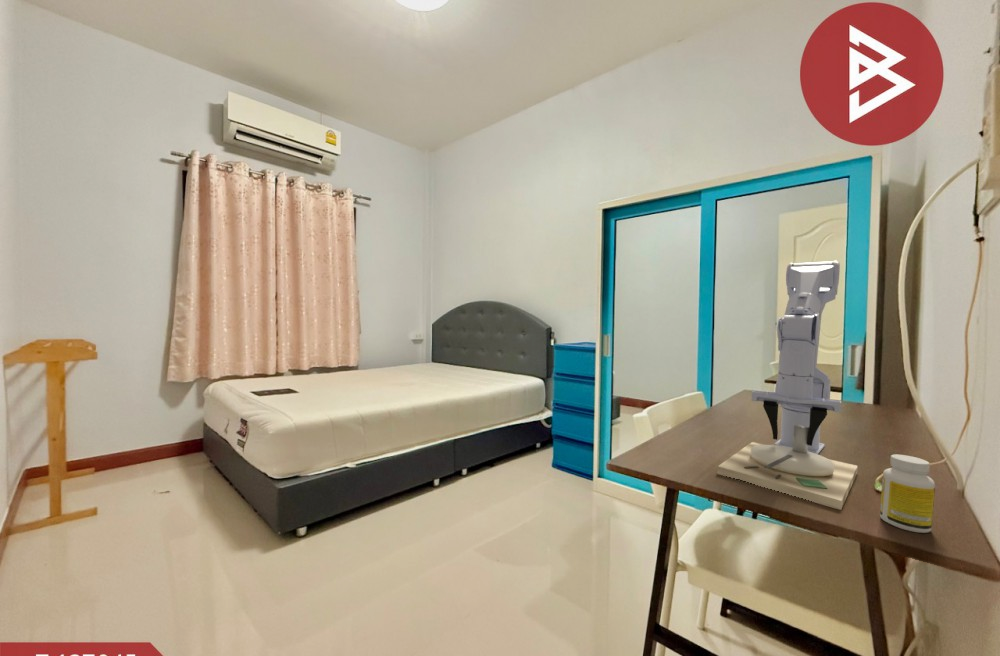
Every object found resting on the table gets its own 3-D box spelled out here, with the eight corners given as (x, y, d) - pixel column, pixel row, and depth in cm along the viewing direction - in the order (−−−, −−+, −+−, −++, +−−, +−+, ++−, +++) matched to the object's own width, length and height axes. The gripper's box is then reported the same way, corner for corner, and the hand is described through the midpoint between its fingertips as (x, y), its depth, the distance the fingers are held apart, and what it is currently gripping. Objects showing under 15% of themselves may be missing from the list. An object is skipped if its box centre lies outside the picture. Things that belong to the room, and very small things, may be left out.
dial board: (751, 448, 91) (752, 441, 91) (857, 473, 78) (857, 464, 78) (717, 473, 76) (717, 465, 76) (841, 510, 63) (841, 499, 63)
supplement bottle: (942, 536, 56) (948, 467, 56) (897, 531, 57) (902, 463, 57) (911, 517, 61) (916, 454, 61) (870, 512, 62) (874, 450, 62)
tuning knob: (810, 488, 66) (812, 451, 66) (727, 462, 76) (729, 430, 76) (843, 466, 76) (845, 434, 76) (766, 446, 87) (768, 417, 86)
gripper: (751, 372, 82) (747, 438, 82) (844, 381, 73) (840, 454, 74) (754, 369, 87) (751, 430, 88) (841, 377, 79) (837, 445, 79)
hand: (791, 441), depth 81 cm, fingers open, 5 cm apart
